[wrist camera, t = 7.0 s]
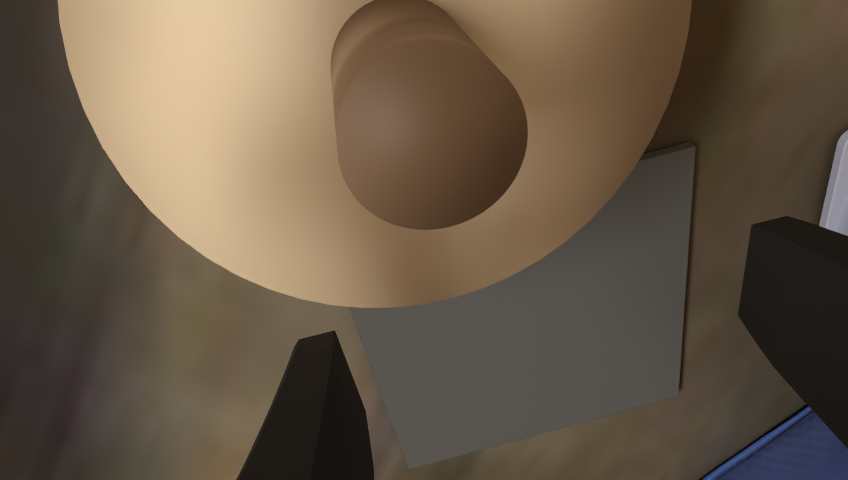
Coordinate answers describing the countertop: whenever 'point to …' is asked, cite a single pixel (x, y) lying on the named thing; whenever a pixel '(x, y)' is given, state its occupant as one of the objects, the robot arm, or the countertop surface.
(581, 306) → the mat
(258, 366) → the countertop surface
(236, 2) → the lid
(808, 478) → the lunch bag
